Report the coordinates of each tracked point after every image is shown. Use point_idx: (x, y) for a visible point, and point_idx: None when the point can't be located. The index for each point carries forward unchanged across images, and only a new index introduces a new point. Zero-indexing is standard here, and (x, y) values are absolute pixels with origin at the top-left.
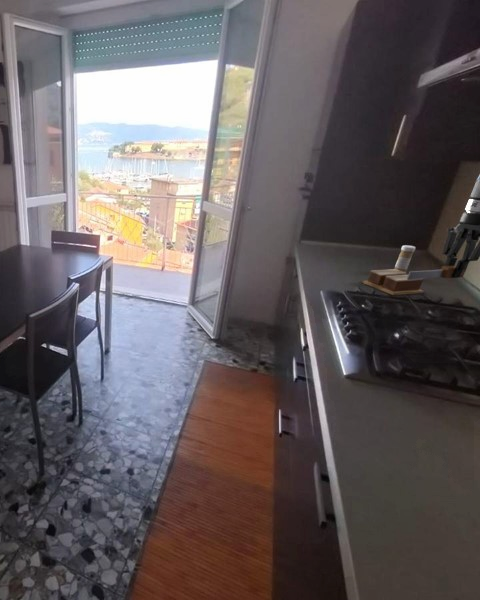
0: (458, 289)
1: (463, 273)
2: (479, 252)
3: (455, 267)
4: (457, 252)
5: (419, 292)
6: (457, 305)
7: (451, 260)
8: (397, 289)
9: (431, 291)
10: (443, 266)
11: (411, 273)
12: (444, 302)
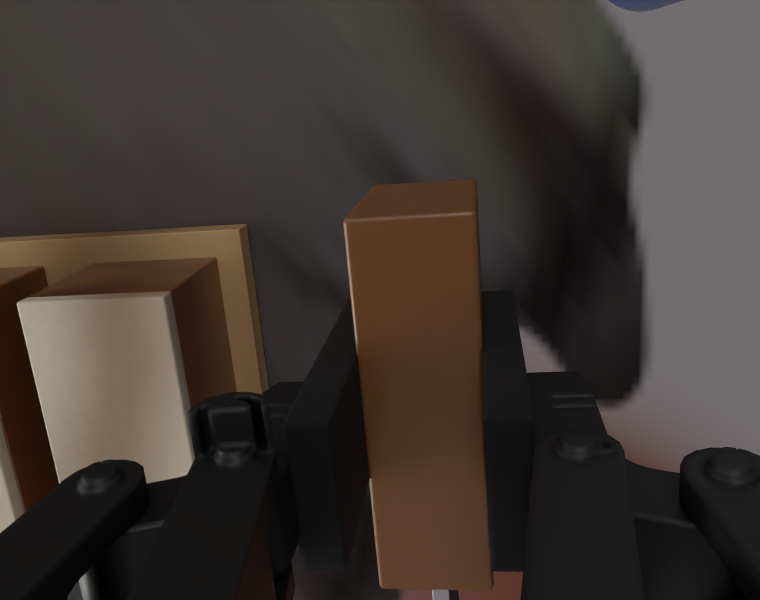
0: None
1: (477, 211)
2: None
3: (474, 462)
4: (263, 527)
5: (250, 268)
6: (575, 187)
7: (351, 524)
8: None
9: (200, 75)
10: (396, 586)
11: None
12: (490, 242)
